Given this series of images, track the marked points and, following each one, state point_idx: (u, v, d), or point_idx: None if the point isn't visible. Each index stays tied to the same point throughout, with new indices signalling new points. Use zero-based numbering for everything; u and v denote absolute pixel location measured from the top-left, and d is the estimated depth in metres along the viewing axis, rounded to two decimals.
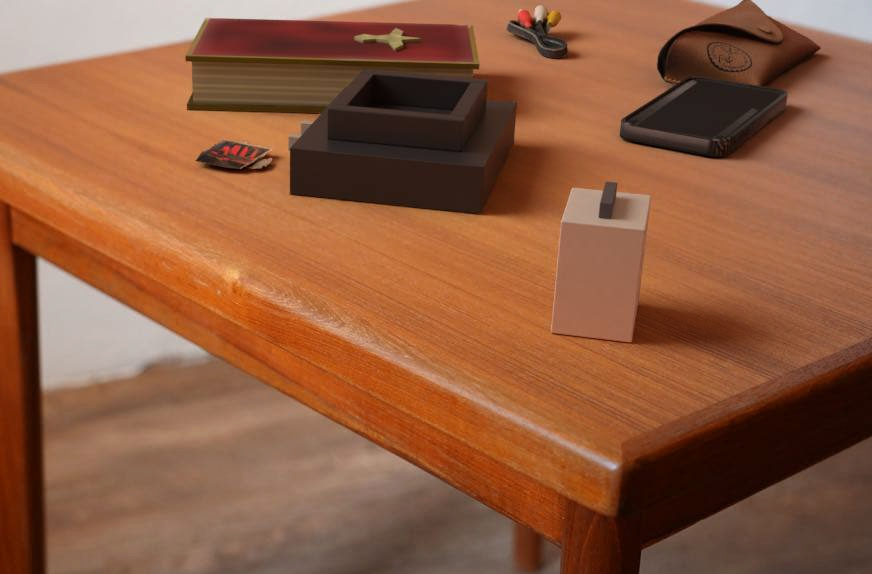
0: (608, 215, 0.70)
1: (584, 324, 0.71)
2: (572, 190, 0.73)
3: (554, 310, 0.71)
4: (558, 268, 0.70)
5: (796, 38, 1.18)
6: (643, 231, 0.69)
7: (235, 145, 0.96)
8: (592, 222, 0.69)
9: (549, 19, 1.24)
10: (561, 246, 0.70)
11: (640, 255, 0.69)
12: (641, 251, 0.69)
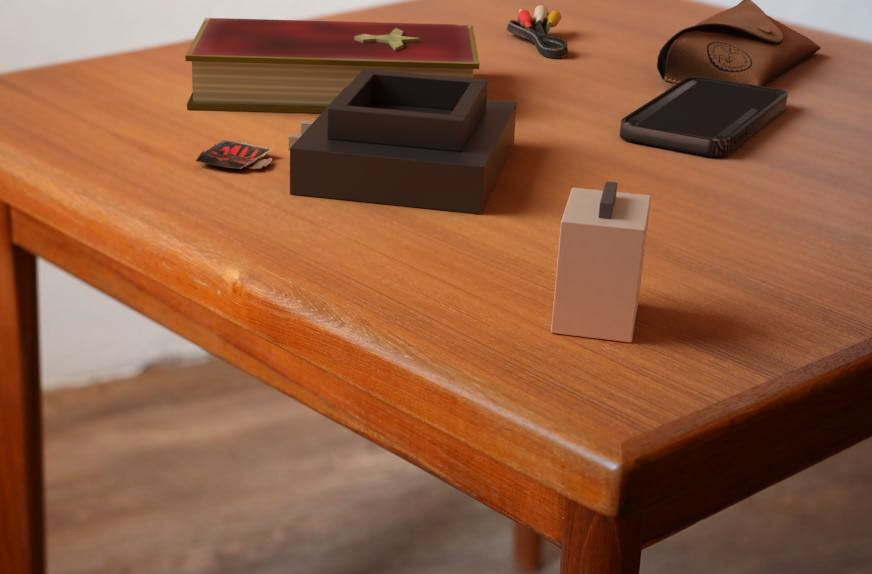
0: (608, 215, 0.70)
1: (584, 324, 0.71)
2: (572, 190, 0.73)
3: (554, 310, 0.71)
4: (558, 268, 0.70)
5: (796, 38, 1.18)
6: (643, 231, 0.69)
7: (235, 145, 0.96)
8: (592, 222, 0.69)
9: (549, 19, 1.24)
10: (561, 246, 0.70)
11: (640, 255, 0.69)
12: (641, 251, 0.69)
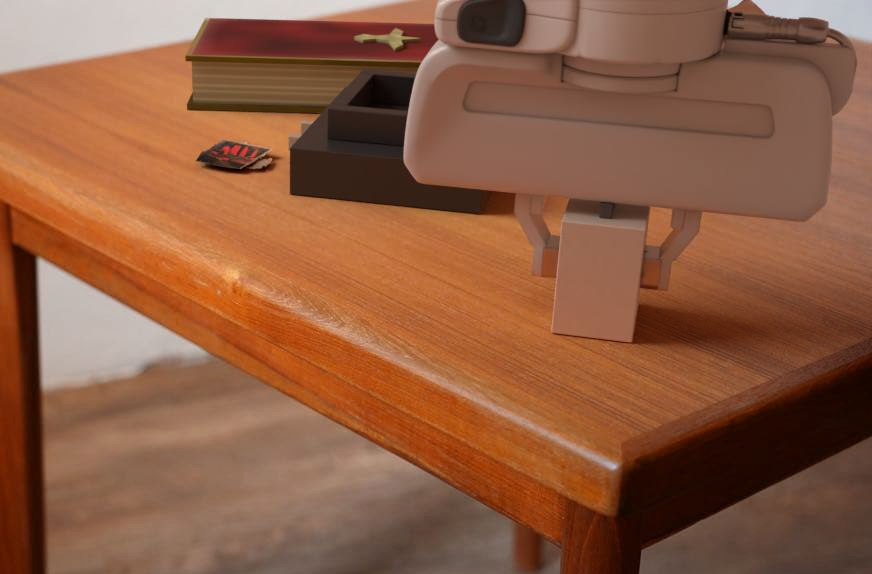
0: (609, 215, 0.70)
1: (584, 324, 0.71)
2: None
3: (554, 310, 0.71)
4: (559, 268, 0.70)
5: None
6: (644, 231, 0.69)
7: (235, 145, 0.96)
8: (593, 222, 0.69)
9: None
10: (562, 246, 0.70)
11: (641, 255, 0.69)
12: (642, 251, 0.69)
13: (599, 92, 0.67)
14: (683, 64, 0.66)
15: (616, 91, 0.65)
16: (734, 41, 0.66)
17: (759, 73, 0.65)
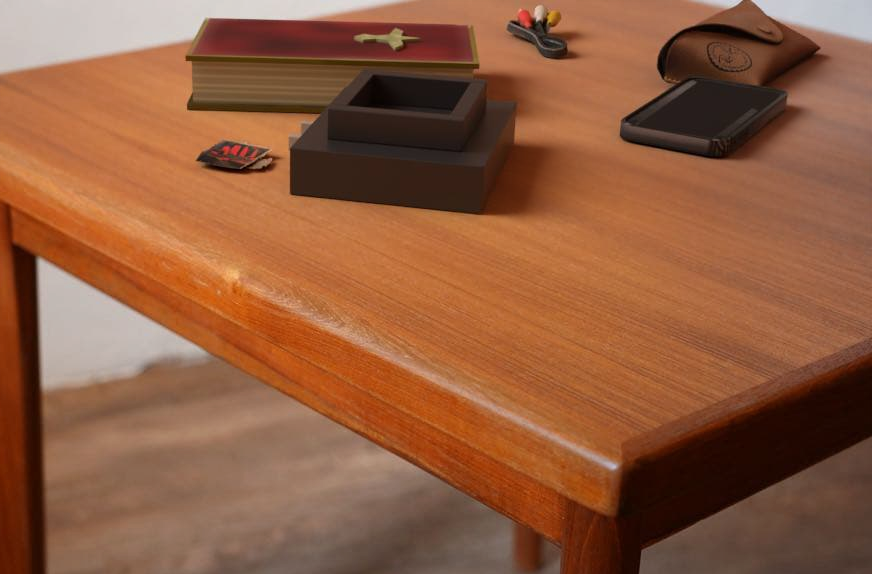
0: None
1: None
2: None
3: None
4: None
5: (796, 38, 1.18)
6: None
7: (235, 145, 0.96)
8: None
9: (549, 19, 1.24)
10: None
11: None
12: None
13: None
14: None
15: None
16: None
17: None
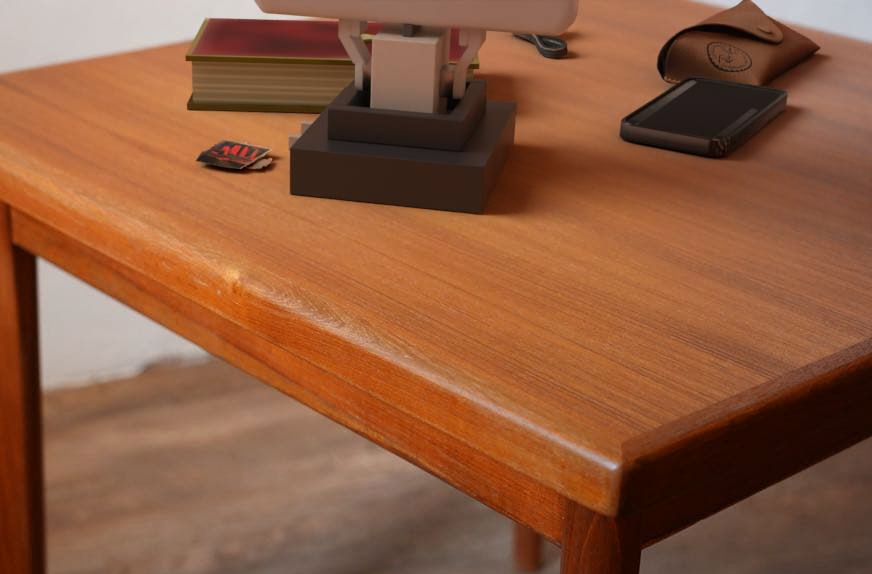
0: (409, 34, 0.89)
1: None
2: None
3: None
4: (372, 77, 0.89)
5: (796, 38, 1.18)
6: (435, 44, 0.88)
7: (235, 145, 0.96)
8: (396, 39, 0.88)
9: None
10: (373, 59, 0.89)
11: (434, 64, 0.88)
12: (434, 61, 0.88)
13: None
14: None
15: None
16: None
17: None
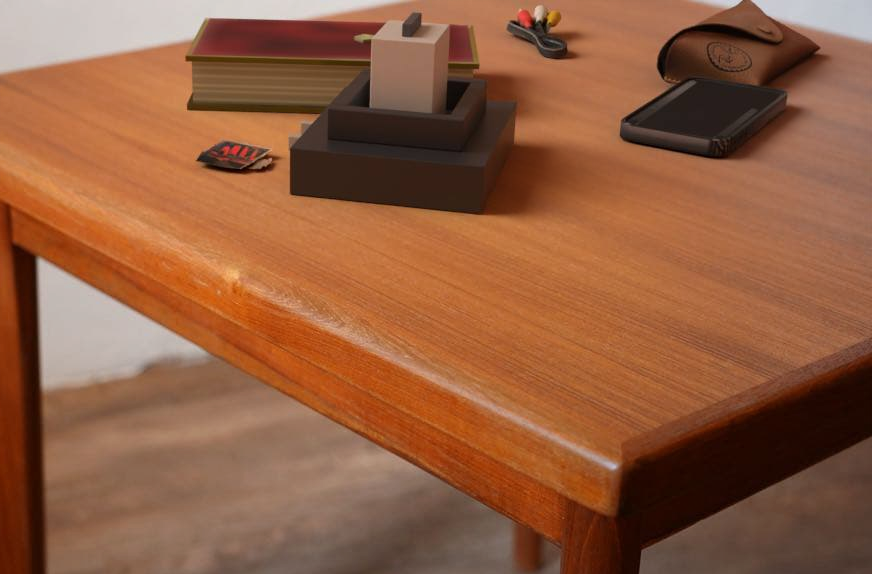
0: (409, 34, 0.89)
1: None
2: (388, 21, 0.92)
3: None
4: (371, 77, 0.89)
5: (796, 38, 1.18)
6: (434, 44, 0.88)
7: (235, 145, 0.96)
8: (395, 38, 0.88)
9: (549, 19, 1.24)
10: (373, 59, 0.89)
11: (433, 64, 0.88)
12: (433, 61, 0.88)
13: None
14: None
15: None
16: None
17: None
